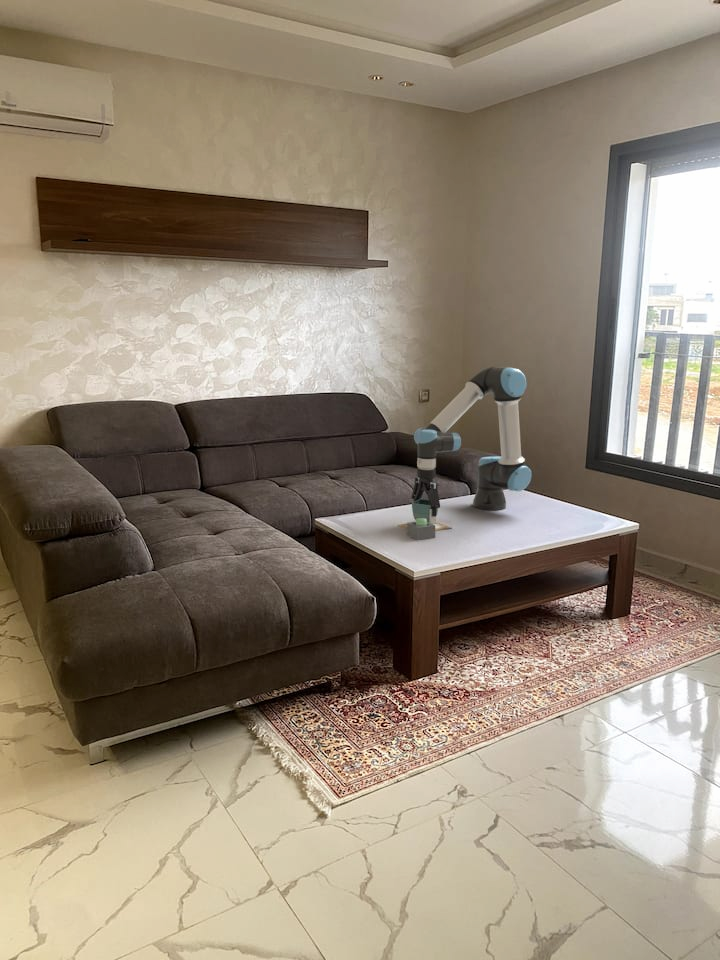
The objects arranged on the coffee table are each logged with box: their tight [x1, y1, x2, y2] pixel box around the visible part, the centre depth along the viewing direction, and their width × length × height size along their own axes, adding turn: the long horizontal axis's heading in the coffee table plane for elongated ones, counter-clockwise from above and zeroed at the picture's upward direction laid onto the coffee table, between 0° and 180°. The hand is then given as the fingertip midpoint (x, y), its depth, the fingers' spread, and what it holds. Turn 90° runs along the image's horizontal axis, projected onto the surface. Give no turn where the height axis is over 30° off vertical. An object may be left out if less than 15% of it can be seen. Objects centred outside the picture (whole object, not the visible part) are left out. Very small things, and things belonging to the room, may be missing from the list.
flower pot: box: [411, 498, 439, 522], centre depth 308 cm, size 9×9×9 cm
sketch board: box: [397, 520, 452, 532], centre depth 310 cm, size 18×13×1 cm
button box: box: [406, 521, 436, 541], centre depth 297 cm, size 8×8×5 cm
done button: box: [415, 518, 427, 526], centre depth 296 cm, size 4×4×5 cm
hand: (424, 520), depth 309 cm, fingers closed on flower pot, 11 cm apart
